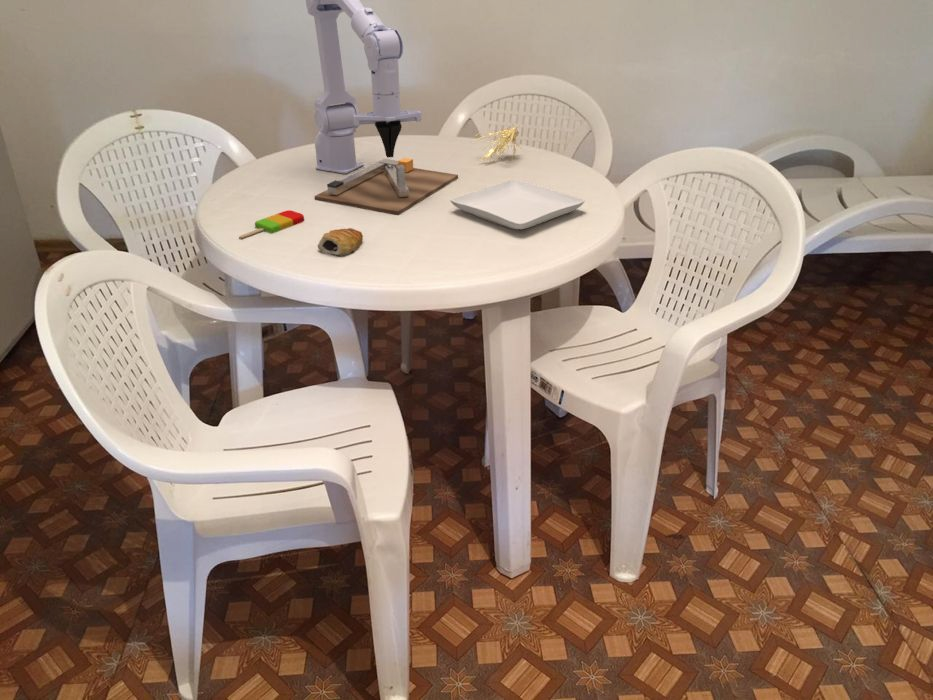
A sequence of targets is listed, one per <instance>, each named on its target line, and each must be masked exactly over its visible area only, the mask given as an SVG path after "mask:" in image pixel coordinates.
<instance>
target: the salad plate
mask: <svg viewBox="0 0 933 700" xmlns="http://www.w3.org/2000/svg"><path fill="white" fill-rule="evenodd" d="M450 203H451V204H452V205H453V206H454V207H456V208H457V209H459V210H461V211H463V212H466V213H468V214H472V215H473V216H476V217H478V218H481V219H483V220H486V221H489V222H492V223H494V224H498V225H500V226H502V227H505V228H508V229H509V228H510V229H513V230H519V229H520V230H527V229H528V228H529V227H530V228H532V227H535V226H537V224H538V225H540V224H543V223H545V222H548V221H550V219H551V220H552V219H555V217H556V218H557V217H560V216H563V215H566V214H569V213H571V212H573V211H575V210H577V209H579V208H580V207H582V205H583V204H585V203H586V201H585V200H584V199H582V198H579V197H576V196H573V195H570V194H567V193H564V192H561V191H558V190H554V189H551V188H548V187H546V186H541V185H538V184H535V183H532V182H531V183H530V182H527V181H524V180H520V179H516V178H513V179H510V180H506V181H502V182H499V183H495V184H492V185H489V186H486V187H482V188H480V189H477V190H473V191H470V192H467V193H464V194H460V195H458V196H455V197H452V198H450ZM542 222H543V223H542ZM526 228H527V229H526Z"/></svg>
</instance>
